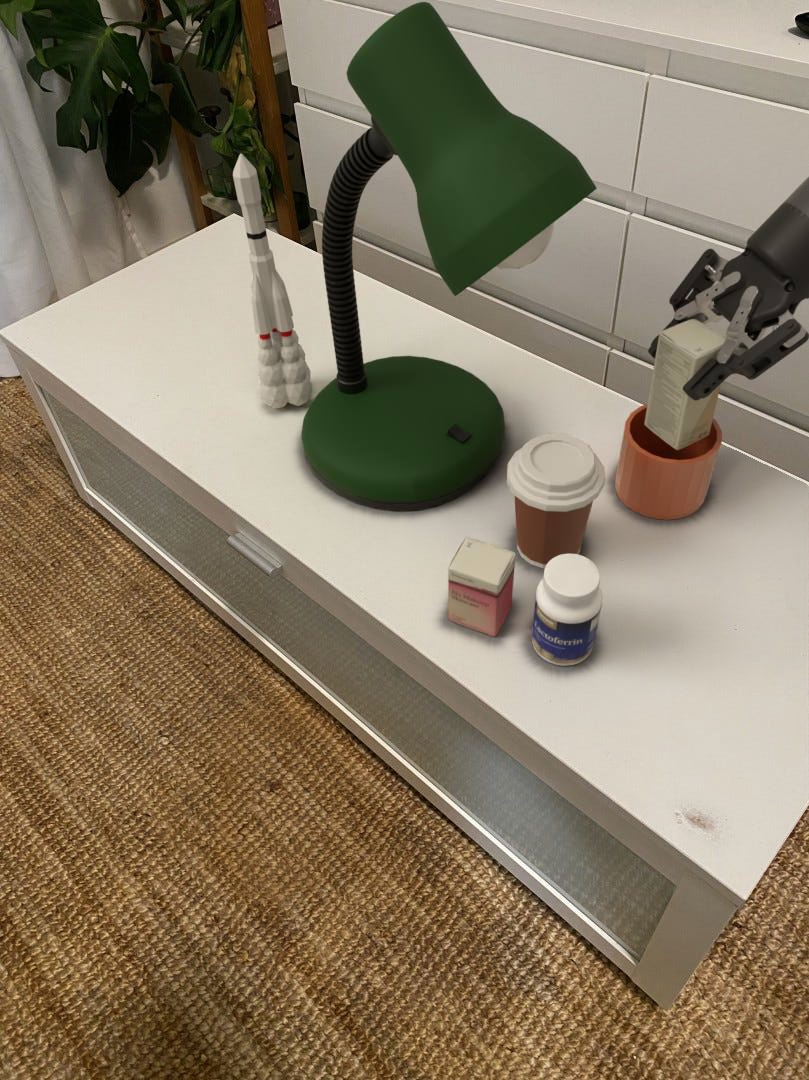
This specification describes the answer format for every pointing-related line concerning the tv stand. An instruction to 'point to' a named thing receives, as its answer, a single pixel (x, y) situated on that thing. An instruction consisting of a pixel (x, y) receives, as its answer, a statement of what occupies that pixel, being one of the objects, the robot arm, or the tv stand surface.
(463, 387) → the desk lamp
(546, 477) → the coffee cup
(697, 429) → the box
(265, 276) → the rocket model
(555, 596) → the pill bottle
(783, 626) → the tv stand surface
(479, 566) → the small box
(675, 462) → the terracotta plant pot
